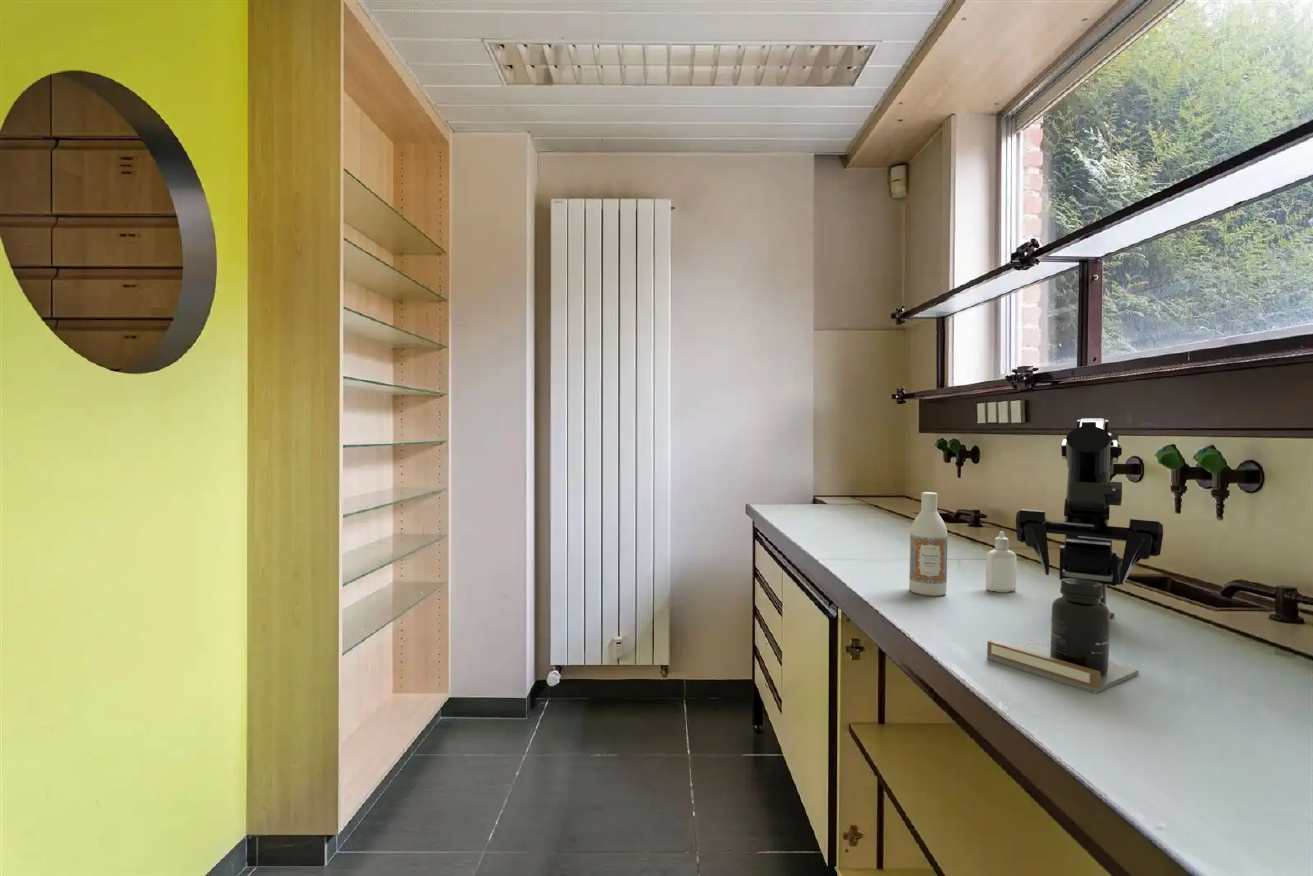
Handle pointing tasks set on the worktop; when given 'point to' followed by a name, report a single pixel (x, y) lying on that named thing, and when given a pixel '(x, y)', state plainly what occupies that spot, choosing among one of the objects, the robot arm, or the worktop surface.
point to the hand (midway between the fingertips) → (1083, 578)
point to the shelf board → (1056, 666)
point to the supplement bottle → (1081, 625)
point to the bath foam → (928, 550)
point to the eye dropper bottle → (1001, 566)
